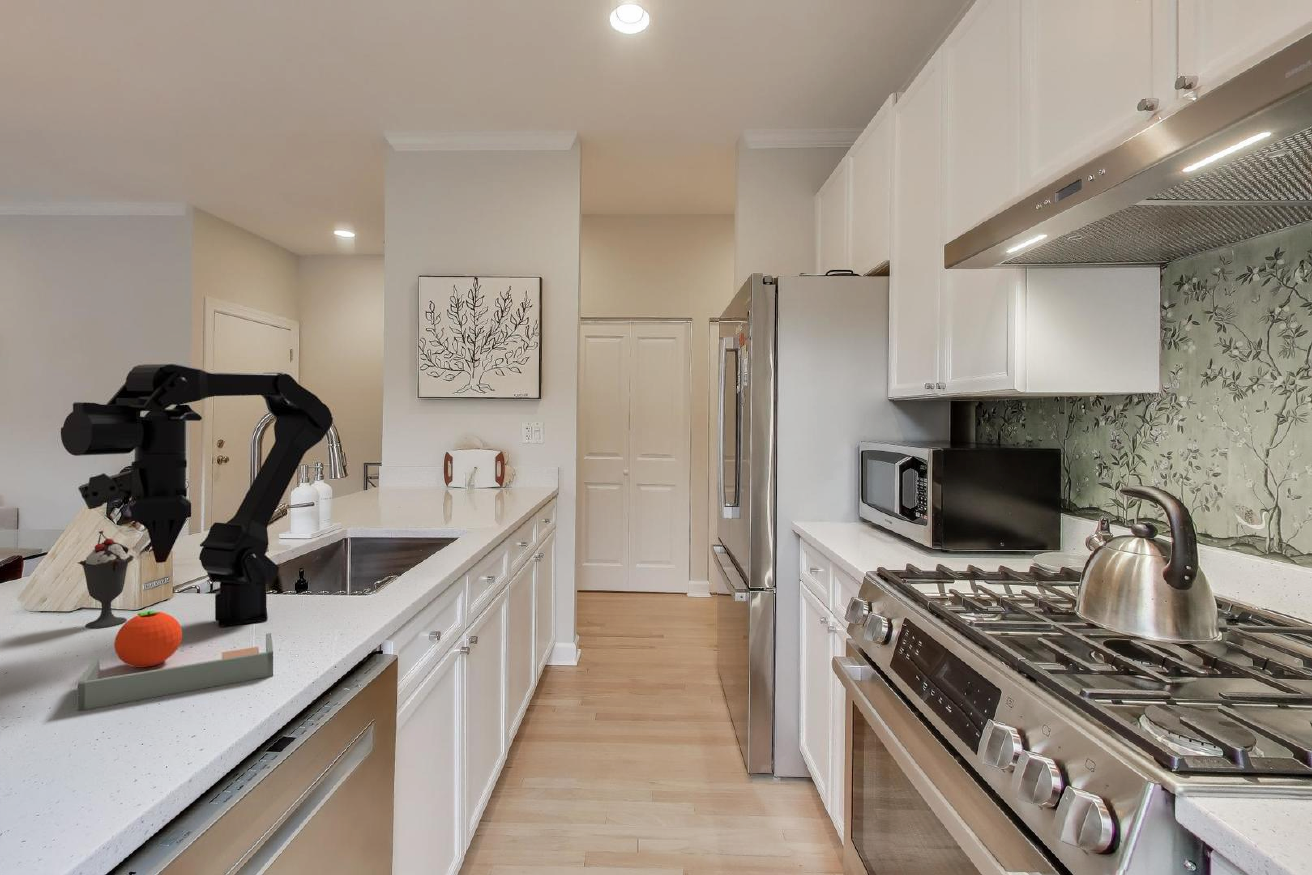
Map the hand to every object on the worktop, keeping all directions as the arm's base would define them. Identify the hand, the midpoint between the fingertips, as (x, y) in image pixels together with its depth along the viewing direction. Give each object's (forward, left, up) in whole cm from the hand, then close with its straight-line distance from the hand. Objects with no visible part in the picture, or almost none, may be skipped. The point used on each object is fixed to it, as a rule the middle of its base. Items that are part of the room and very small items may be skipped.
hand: (160, 562), depth 88 cm
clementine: (+1, +7, -12) cm, 14 cm away
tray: (-4, +16, -12) cm, 20 cm away
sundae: (+8, -16, -12) cm, 22 cm away
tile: (-10, +16, -12) cm, 23 cm away
